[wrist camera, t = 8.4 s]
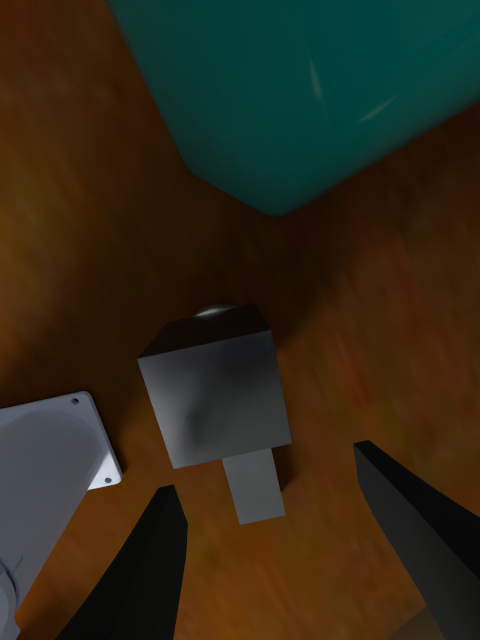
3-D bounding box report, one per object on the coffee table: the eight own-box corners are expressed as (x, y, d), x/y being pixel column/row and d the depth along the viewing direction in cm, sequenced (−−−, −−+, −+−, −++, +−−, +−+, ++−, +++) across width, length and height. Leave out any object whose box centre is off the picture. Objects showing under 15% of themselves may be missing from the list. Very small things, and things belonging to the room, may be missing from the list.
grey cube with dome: (271, 383, 18) (292, 443, 12) (190, 400, 18) (173, 469, 12) (255, 303, 16) (270, 330, 11) (167, 322, 16) (137, 359, 11)
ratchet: (294, 489, 22) (311, 551, 18) (225, 504, 22) (224, 570, 18) (255, 295, 18) (265, 309, 13) (170, 314, 18) (150, 335, 13)
